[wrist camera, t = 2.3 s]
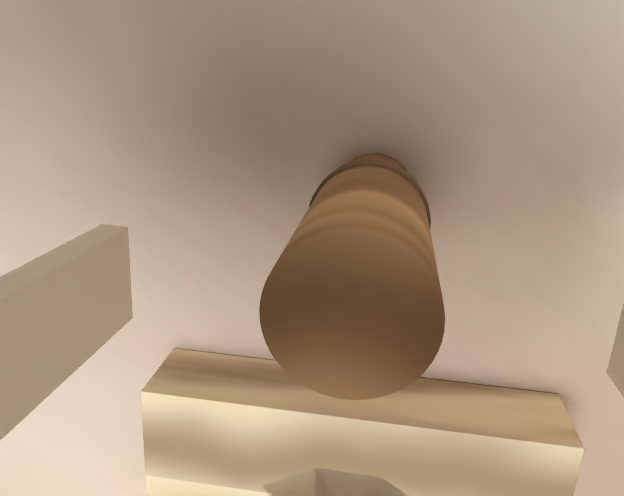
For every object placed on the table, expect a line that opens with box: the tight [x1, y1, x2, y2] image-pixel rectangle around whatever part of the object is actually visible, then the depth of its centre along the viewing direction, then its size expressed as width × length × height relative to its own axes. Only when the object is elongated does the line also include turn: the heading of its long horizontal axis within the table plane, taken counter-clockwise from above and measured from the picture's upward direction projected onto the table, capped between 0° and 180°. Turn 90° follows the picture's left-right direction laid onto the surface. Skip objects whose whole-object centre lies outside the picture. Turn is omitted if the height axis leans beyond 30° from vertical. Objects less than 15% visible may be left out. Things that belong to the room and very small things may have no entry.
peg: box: [260, 154, 445, 400], centre depth 19 cm, size 4×4×13 cm
